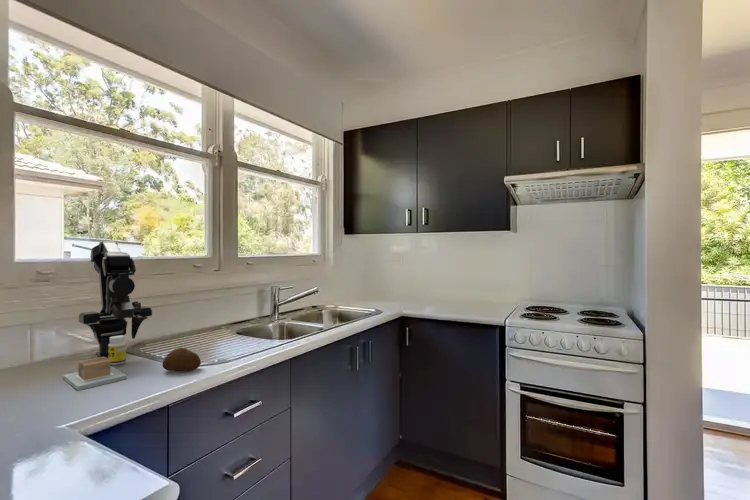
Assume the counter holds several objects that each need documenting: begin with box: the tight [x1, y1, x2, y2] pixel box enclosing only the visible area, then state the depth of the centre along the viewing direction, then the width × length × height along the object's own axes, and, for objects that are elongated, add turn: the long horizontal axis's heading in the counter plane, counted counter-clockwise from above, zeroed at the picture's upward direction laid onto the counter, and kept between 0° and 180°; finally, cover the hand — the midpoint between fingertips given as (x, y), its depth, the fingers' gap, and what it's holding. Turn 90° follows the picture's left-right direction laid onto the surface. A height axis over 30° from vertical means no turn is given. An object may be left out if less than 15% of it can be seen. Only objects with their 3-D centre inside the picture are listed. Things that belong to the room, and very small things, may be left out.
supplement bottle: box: [107, 335, 127, 366], centre depth 118 cm, size 5×5×8 cm
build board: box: [62, 365, 127, 391], centre depth 104 cm, size 14×11×1 cm
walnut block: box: [77, 356, 111, 380], centre depth 104 cm, size 6×6×4 cm
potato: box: [162, 347, 202, 373], centre depth 111 cm, size 7×10×7 cm
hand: (117, 341), depth 118 cm, fingers open, 9 cm apart
